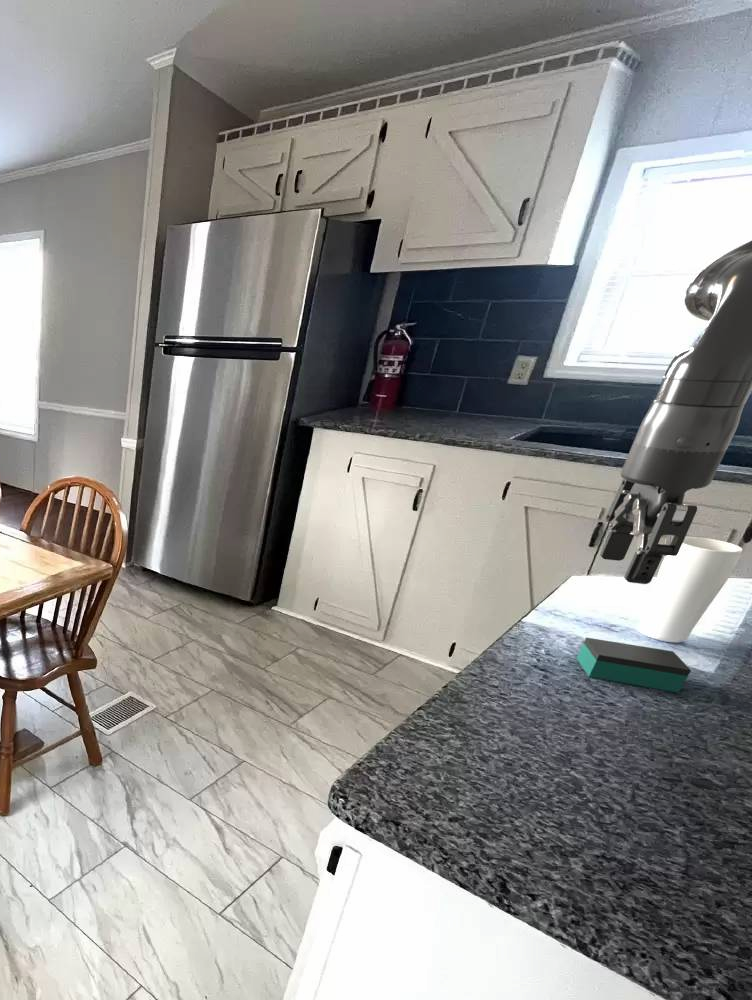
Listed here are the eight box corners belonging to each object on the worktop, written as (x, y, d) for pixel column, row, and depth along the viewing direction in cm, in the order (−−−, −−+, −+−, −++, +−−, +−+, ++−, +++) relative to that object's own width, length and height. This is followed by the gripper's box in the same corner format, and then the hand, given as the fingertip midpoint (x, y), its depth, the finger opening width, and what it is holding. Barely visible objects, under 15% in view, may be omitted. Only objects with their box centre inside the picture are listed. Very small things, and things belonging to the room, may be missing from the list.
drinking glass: (688, 651, 92) (740, 555, 86) (624, 634, 97) (669, 542, 91) (696, 637, 96) (747, 544, 90) (635, 621, 101) (679, 532, 94)
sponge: (661, 673, 87) (673, 651, 86) (678, 693, 83) (691, 670, 82) (576, 658, 91) (586, 637, 90) (588, 676, 87) (599, 654, 86)
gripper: (759, 457, 67) (689, 596, 74) (696, 433, 78) (640, 555, 85) (661, 452, 70) (603, 586, 77) (614, 430, 81) (567, 548, 88)
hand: (622, 570), depth 81 cm, fingers open, 8 cm apart
